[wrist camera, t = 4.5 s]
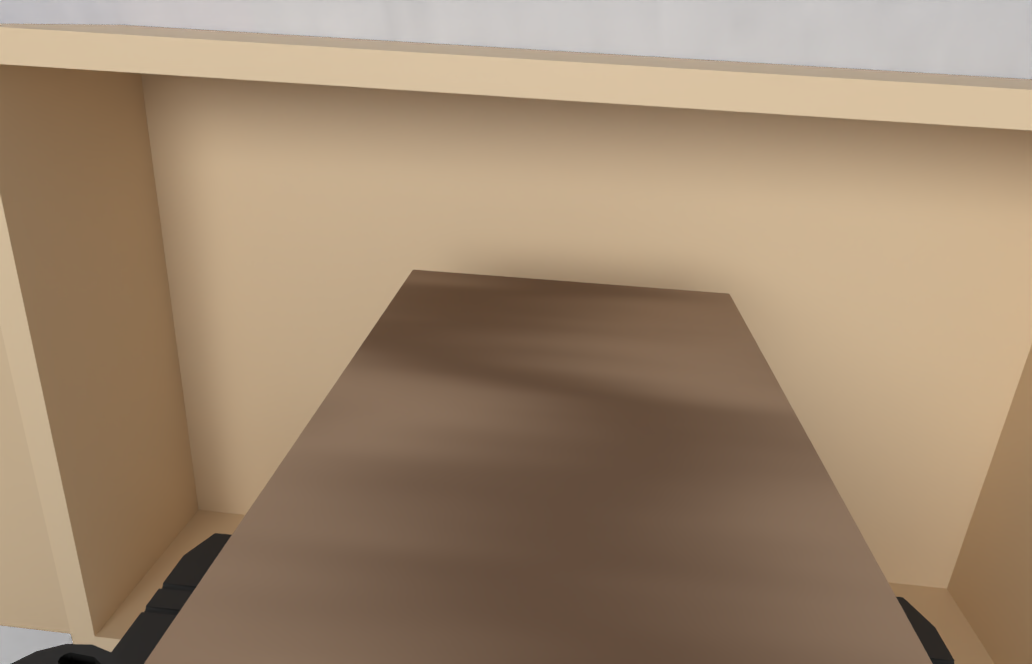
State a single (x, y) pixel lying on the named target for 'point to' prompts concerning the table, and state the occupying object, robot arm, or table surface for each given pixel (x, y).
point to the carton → (498, 252)
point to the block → (548, 499)
